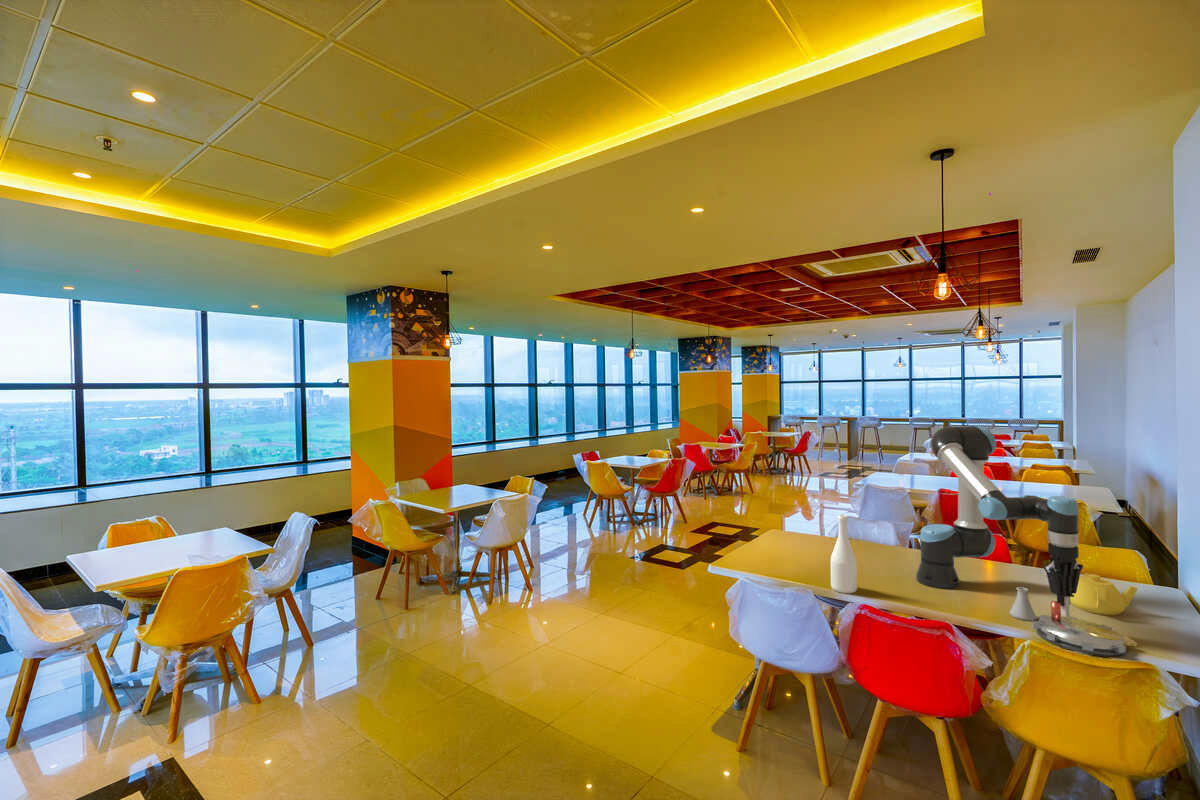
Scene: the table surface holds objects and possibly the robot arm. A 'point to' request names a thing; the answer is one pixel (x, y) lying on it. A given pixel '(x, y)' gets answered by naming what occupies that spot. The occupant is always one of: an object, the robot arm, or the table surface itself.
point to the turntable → (1080, 632)
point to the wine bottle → (843, 561)
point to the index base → (1078, 649)
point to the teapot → (1100, 596)
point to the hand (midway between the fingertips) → (1063, 614)
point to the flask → (1022, 606)
